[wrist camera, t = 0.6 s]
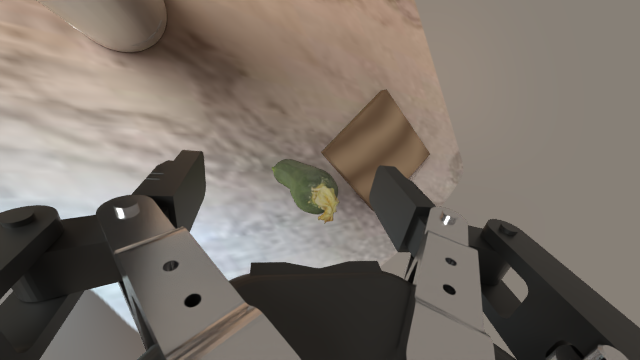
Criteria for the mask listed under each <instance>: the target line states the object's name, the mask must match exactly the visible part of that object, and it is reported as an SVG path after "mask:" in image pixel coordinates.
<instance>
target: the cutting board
mask: <svg viewBox="0 0 640 360" xmlns="http://www.w3.org/2000/svg"><path fill="white" fill-rule="evenodd" d="M321 153H322V154H323V155H324V157H325V158H326V159H327V160H328V161H329V162H330V163H331V164H332V165H333V167H334V168H335V169H336V170H337V171H338V172H339V173H340V174H341V176H342V177H343V178H344V179H345V180H346V181H347V182H348V183H349V185H350V186H351V187H352V188H353V189H354V190H355V191H356V192H357V194H358V195H359V196H360V197H361V198H362V199H363V200H364V201H365V202H366V204H367V205H368V206H369V207H370V208H371V209H372V210H373V208H372V207H371V205H370V201H369V195H370V190H371V187H372V184H373V180H374V177H375V173H376V170H377V168H378V167H379V166H380V165H383V166H395V167H396V168H397V169H398V170H399V171H400V172H401V173H402V174H403V175H404V176H405V177H406V178H407V179H408V178H409V177H410V176H411V175H412V174H413V173H414V171H415V170H416V169H417V168H418V167H419V166H420V165H421V164H422V162H423V161H424V160H425V159H426V158H427V157H428V156H429V155H430V153H429V152H428V150H427V149H426V147H425V146H424V144H423V143H422V141H421V140H420V138H419V137H418V136H417V134H416V133H415V131H414V130H413V128H412V127H411V125H410V124H409V122H408V121H407V119H406V118H405V116H404V115H403V113H402V112H401V110H400V109H399V107H398V106H397V104H396V103H395V101H394V100H393V98H392V97H391V95H390V94H389V92H388V91H387V89H386V90H382V91H380V92H379V93H378V94H377V95H376V96H375V97H374V98H373V99H372V101H371V102H370V103H369V104H368V105H367V106H366V107H365V108H364V109H363V110H362V111H361V112H360V113H359V114H358V115H357V116H356V117H355V118H354V119H353V120H352V121H351V122H350V123H349V124H348V125H347V126H346V127H345V128H344V129H343V130H342V131H341V132H340V133H339V135H338V136H337V137H336V138H335V139H334V140H333V141H332V142H331V143H330V144H329V145H328V146H327V147H326V148H325V149H324V150H323V151H322V152H321ZM373 211H374V210H373Z"/></svg>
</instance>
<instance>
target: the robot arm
mask: <svg viewBox="0 0 640 360" xmlns="http://www.w3.org/2000/svg"><path fill="white" fill-rule="evenodd" d="M36 1H38V2H39V3H41V4H42V5H43V6H45V7H46V8H48V9H49V10H50V11H52V12H53V13H55V14H56V15H58V16H59V17H60V18H62V19H63V20H65V21H66V22H67V23H69V24H70V25H71V26H73V27H74V28H76V29H77V30H78V31H80V32H81V33H83V34H84V35H85V36H87V37H88V38H90V39H91V40H93V41H94V42H96V43H97V44H99V45H102V46H104V47H106V48H108V49H112V50H116V51H120V52H136V51H141V50H144V49H147V48H149V47H151V46H152V45H154V44H155V43H156V42H157V41H158V40H159V39H160V38H161V36H162V34H163V32H164V31H165V27H166V23H167V11H166V7H165V3H164V0H36ZM205 190H206V181H205V166H204V155H203V152H202V151H189V150H182V151H181V152H180V154H179V155H178V156H177V157H176V159H175V160H174V161H169V160H168V161H166V162H164V163H162V164H160V165H158V166H156V168H155V169H154V170H153V171H152V172H151V174H149V175H148V177H147V178H146V179H145V180H144V181H143V182H142V183H141V184H140V186H139V187H138V188H137V189H136V190H135V191H134V192H133V193H132V195H126V196H121V197H117V198H114V199H111V200H109V201H107V202H105V203H104V204H102V205H101V206H100V207H99V208H98V209H97V211H96V215H91V216H84V217H77V218H70V219H63V220H61V219H60V217H59V214H58V212H57V210H56V209H55V208H53V207H49V206H41V205H36V206H26V207H20V208H15V209H11V210H8V211H5V212H2V213H0V299H1V298H2V297H3V296H4V294H5V293H6V292H7V291H8V290H9V289H10V288H12V290H13V292H12V293H11V294H10V295H9V296H8V297H7V298H6V300H5V301H4V302H3V303H2V304H1V305H0V360H39V359H40V358H41V356H42V355H43V353H44V352H45V350H46V349H47V347H48V346H49V344H50V342H51V341H52V339H53V338H54V336H55V335H56V333H57V332H58V330H59V329H60V327H61V326H62V324H63V323H64V321H65V320H66V318H67V317H68V315H69V313H70V312H71V310H72V309H73V307H74V306H75V304H76V303H77V301H78V300H79V298H80V297H81V295H82V294H83V292H84V290H88V289H92V288H96V287H100V286H104V285H108V284H112V283H116V282H118V284H119V286H120V289H121V291H122V293H123V296H124V298H125V300H126V303H127V305H128V307H129V310H130V312H131V314H132V317H133V319H134V321H135V324H136V326H137V329H138V331H139V334H140V337H141V340H142V342H143V345H144V348H145V350H146V352H145V353H144V354H143V355H142V356H140V357H139V358H138V359H137V360H516V359H517V360H640V328H639V327H638V326H637V325H635V324H634V323H633V322H632V321H631V320H629V319H628V318H627V317H626V316H625V315H623V314H622V313H621V312H620V311H618V310H617V309H616V308H615V307H613V306H612V305H611V304H610V303H609V302H608V301H606V300H605V299H604V298H603V297H602V296H600V295H599V294H598V293H597V292H596V291H594V290H593V289H592V288H591V287H589V286H588V285H587V284H586V283H584V282H583V281H582V280H581V279H580V278H579V277H577V276H576V275H575V274H574V273H573V272H571V271H570V270H569V269H568V268H567V267H565V266H564V265H563V264H562V263H560V262H559V261H558V260H557V259H555V258H554V257H553V256H552V255H551V254H550V253H548V252H547V251H546V250H545V249H543V248H542V247H541V246H540V245H539V244H538V243H536V242H535V241H534V240H533V239H531V238H530V237H529V236H528V235H527V234H525V233H524V232H523V231H522V230H520V229H519V228H517V227H516V226H514V225H512V224H510V223H507V222H505V221H501V220H497V219H490V220H488V222H487V223H486V225H485V227H484V228H483V229H482V228H477V227H472V226H469V225H468V223H467V221H466V219H465V218H464V217H463V216H461V215H460V214H459V213H457V212H455V211H453V210H451V209H448V208H444V207H436V206H435V205H434V204H433V203H432V201H431V200H430V199H429V198H428V197H427V196H426V195H425V194H423V192H422V191H421V190H420V189H418V187H417V186H416V185H415V184H414V183H413V182H412V181H410V180H409V179H407V178H406V177H405V176H404V175H403V174H402V173H401V172H400V171H399V170H398V169H397V168H396V167H395V166H383V165H380V166H379V167H378V168H377V170H376V173H375V177H374V180H373V184H372V187H371V190H370V195H369V201H370V205H371V207H372V208H373V210H374V212H375V213H376V215H377V217H378V219H379V220H380V222H381V224H382V225H383V227H384V229H385V231H386V232H387V234H388V236H389V238H390V239H391V241H392V243H393V244H394V246H395V248H396V250H397V251H398V252H410V253H411V255H410V257H409V259H408V263H407V266H406V269H405V273H404V276H403V278H401V277H399V276H396V275H394V274H391V273H388V272H384V271H382V270H381V268H380V266H379V264H378V262H377V261H348V262H344V263H340V264H336V265H332V266H328V267H324V268H312V267H307V266H302V265H296V264H291V263H286V262H269V263H251V269H250V273H249V274H246V275H242V276H239V277H236V278H234V279H232V280H230V281H228V280H227V279H226V278H225V276H224V275H223V274H222V273H221V271H220V270H219V269H218V268H217V266H216V265H215V264H214V263H213V261H212V260H211V259H210V258H209V256H208V255H207V254H206V253H205V251H204V250H203V249H202V248H201V246H200V245H199V244H198V243H197V241H196V240H195V239H194V238H193V236H192V235H191V234H190V233H189V232H190V230H191V228H192V225H193V223H194V220H195V218H196V216H197V213H198V211H199V209H200V206H201V204H202V202H203V199H204V196H205ZM510 267H512V268H513V269H514V270H515V271H516V272H517V273H518V274H519V275H520V277H522V279H524V281H525V282H526V284H527V286H528V295H527V297H526V298H525V300H524V301H523V302H522V303H521V302H520V301H519V300H518V298H517V297H516V296H515V295H514V294H513V293H512V291H511V290H510V289H509V288H508V287H507V286H506V285H505V283H504V282H503V281H502V280H501V279H502V278H503V277H504V275H505V274H506V272H507V271H508V270H509V268H510ZM483 312H484V314H485V315H486V316H487V318H488V319H489V321H490V322H491V323H492V325H493V326H494V328H495V329H496V331H497V332H498V333H499V335H500V336H501V338H502V339H503V341H504V342H505V343H506V344H507V346H508V348H509V349H510V350H511V352H512V353H513V355H514V356H515V357H516V359H515V358H513V357H512V356H510V355H509V354H508V353H506V352H505V351H504V350H502V349H501V348H500V347H498V346H497V345H495V344H494V343H493V342H492V339H491V337H490V336H489V335H487V334H486V333H485V330H484V323H483Z"/></svg>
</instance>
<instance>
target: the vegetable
mask: <svg viewBox="0 0 640 360" xmlns="http://www.w3.org/2000/svg"><path fill="white" fill-rule="evenodd" d="M272 170H273V172H274V176H275V178H276V179H277V181H278V182H279V183H281V184H283V185H284V186H286V187H287V188H289V189H290V192H291V195H292V197H293V199H294V201H295V203H296V204H297V206H298V207H299V208H300V209H301V210H303V211H305V212H308V213H312V214H321V213H324V214H322V215H321V216H319V217H318V220H320V219H321V220H325V222H328V221H333V214H334V212H336V206H337V205H338V203H340V202H339V201H338V199H337V195H338V187H337V185H336V183H335V181H334V179H333V178H332V177H331V175H330V174H328V173H327V172H325V171H323V170H321V169H318V168H316V167H313V166H309V165H306V164H303V163H301V162H298V161H295V160H291V159H289V160H288V159H285V160H282V161H280V162H278V163H277V164H276V166H275V167H272ZM324 224H325V223H324Z"/></svg>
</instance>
